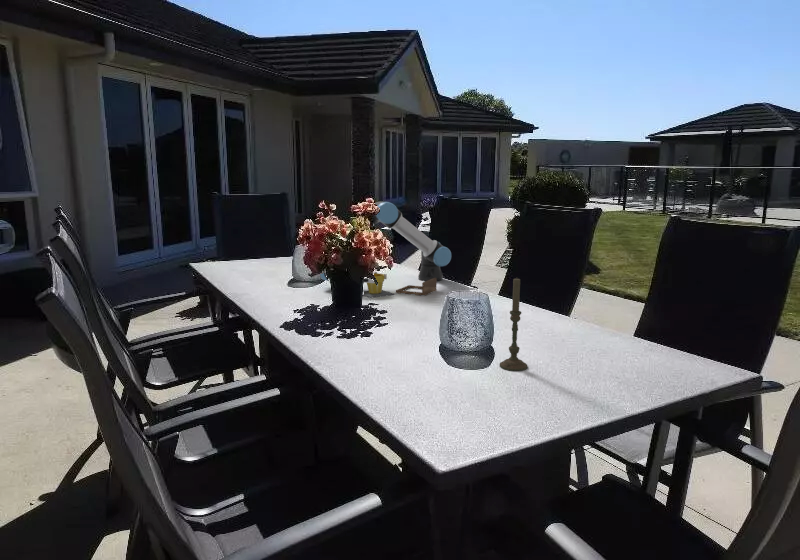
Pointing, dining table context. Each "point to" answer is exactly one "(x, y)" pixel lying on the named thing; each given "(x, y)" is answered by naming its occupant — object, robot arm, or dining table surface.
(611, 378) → the dining table surface
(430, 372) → the dining table surface
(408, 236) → the robot arm
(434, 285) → the dock
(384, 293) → the mat
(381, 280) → the plant pot
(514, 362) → the candlestick holder
